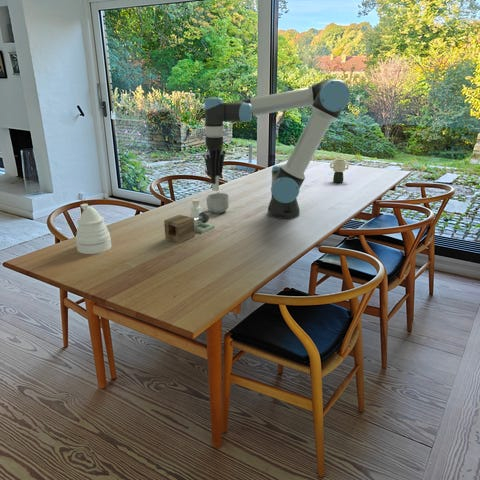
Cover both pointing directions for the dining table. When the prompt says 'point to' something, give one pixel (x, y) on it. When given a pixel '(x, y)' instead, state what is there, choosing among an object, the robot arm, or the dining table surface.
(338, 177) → the trophy cup
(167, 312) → the dining table surface
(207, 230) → the keeper socket
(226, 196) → the teacup
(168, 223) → the bearing block
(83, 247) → the honey pot
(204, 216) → the shaft
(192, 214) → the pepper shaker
